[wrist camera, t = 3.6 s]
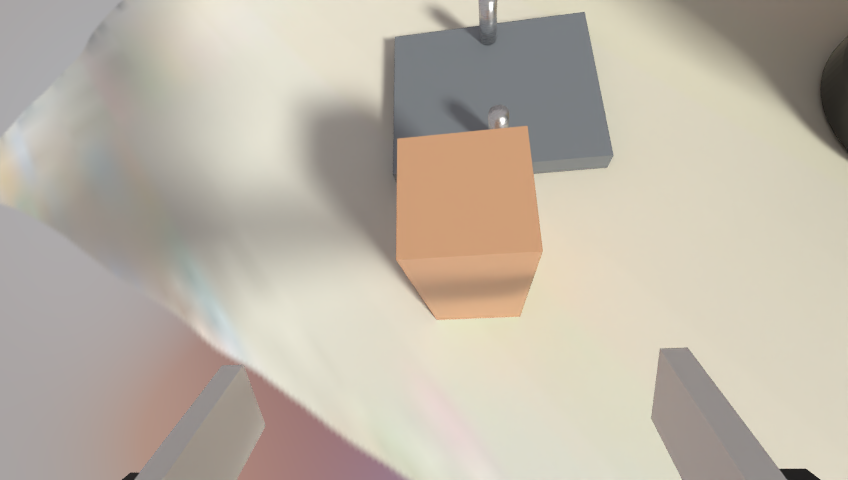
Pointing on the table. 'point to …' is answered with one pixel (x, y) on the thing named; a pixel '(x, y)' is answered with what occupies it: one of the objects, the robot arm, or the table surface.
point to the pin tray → (506, 87)
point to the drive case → (468, 221)
